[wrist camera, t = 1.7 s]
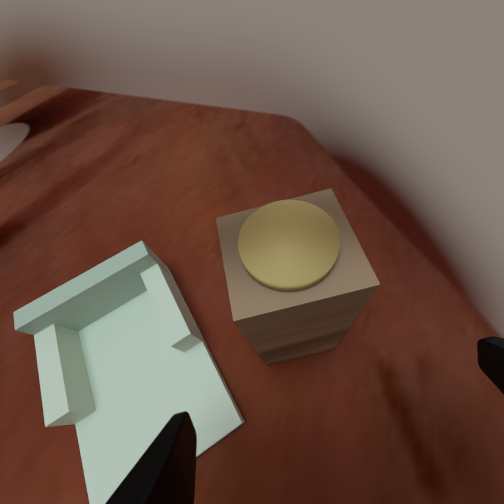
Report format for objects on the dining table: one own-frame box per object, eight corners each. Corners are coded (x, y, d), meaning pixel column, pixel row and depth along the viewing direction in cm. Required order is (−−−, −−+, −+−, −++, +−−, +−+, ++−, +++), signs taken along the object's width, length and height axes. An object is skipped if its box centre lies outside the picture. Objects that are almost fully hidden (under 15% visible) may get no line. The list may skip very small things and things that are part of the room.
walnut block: (333, 349, 19) (385, 277, 8) (267, 365, 19) (229, 316, 8) (313, 292, 21) (332, 177, 10) (254, 307, 21) (212, 209, 10)
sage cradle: (244, 421, 17) (228, 428, 13) (105, 524, 16) (34, 569, 11) (168, 269, 24) (141, 240, 20) (66, 329, 23) (13, 312, 18)
